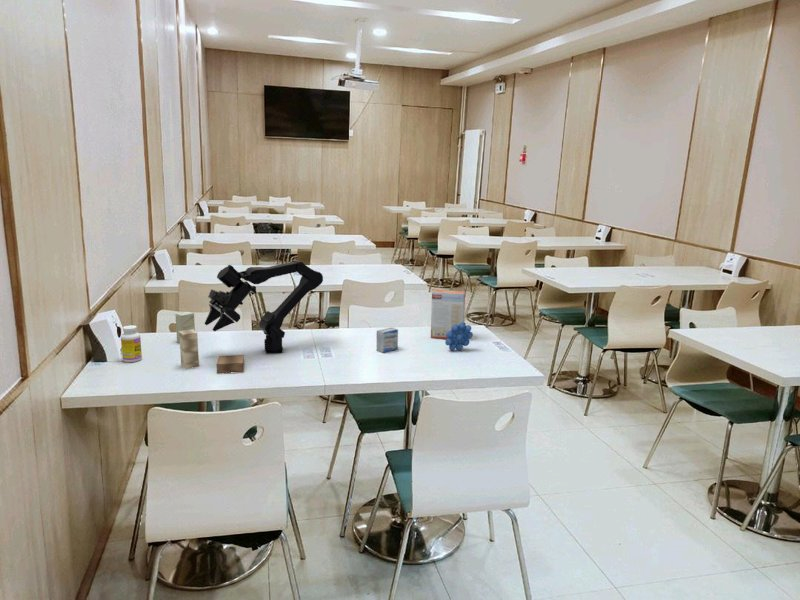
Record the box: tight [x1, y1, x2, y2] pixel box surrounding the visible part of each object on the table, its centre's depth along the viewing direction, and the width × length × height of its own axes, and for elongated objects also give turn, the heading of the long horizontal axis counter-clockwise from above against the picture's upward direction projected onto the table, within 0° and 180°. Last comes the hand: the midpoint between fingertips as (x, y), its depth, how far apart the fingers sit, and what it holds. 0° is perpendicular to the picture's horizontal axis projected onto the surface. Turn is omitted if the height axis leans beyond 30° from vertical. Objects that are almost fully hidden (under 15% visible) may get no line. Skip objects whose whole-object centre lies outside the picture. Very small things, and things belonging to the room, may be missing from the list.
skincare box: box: [174, 311, 196, 344], centre depth 242 cm, size 6×4×12 cm
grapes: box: [444, 321, 474, 351], centre depth 240 cm, size 12×7×12 cm, turn 103°
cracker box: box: [430, 289, 466, 340], centre depth 255 cm, size 14×6×21 cm, turn 77°
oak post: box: [179, 329, 200, 370], centre depth 214 cm, size 5×5×13 cm
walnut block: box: [216, 354, 245, 374], centre depth 213 cm, size 9×9×4 cm
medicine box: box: [375, 327, 399, 354], centre depth 238 cm, size 8×4×9 cm, turn 131°
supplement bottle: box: [120, 324, 143, 363], centre depth 219 cm, size 7×7×13 cm
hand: (209, 327), depth 217 cm, fingers open, 9 cm apart
